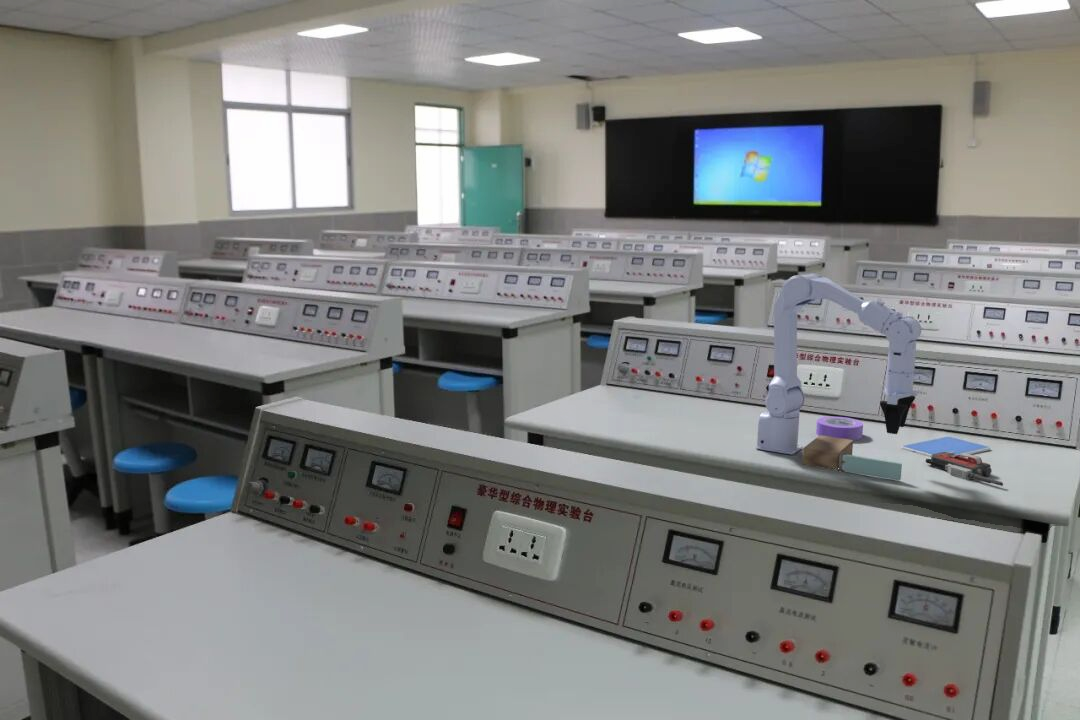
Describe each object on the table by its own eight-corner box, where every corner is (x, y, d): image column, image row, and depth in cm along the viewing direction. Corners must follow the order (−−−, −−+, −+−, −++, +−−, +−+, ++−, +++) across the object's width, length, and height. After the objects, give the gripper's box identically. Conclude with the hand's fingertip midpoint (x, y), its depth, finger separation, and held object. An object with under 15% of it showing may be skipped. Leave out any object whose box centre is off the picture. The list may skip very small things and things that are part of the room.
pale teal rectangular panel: (841, 470, 201) (842, 454, 200) (842, 469, 202) (843, 453, 201) (899, 480, 194) (901, 464, 193) (900, 479, 195) (902, 463, 194)
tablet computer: (942, 462, 211) (943, 457, 211) (898, 450, 222) (898, 445, 221) (992, 452, 220) (992, 447, 220) (947, 440, 231) (947, 435, 231)
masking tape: (853, 443, 226) (854, 429, 225) (809, 436, 233) (810, 422, 232) (868, 434, 235) (869, 420, 235) (824, 427, 242) (825, 414, 241)
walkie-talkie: (918, 467, 207) (999, 491, 190) (920, 449, 206) (1001, 471, 189) (942, 462, 211) (1022, 485, 194) (943, 444, 210) (1025, 466, 193)
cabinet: (801, 465, 206) (802, 447, 205) (818, 450, 218) (820, 433, 218) (841, 472, 201) (842, 453, 200) (857, 456, 213) (858, 439, 213)
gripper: (913, 378, 189) (908, 439, 191) (924, 368, 201) (919, 425, 203) (879, 374, 193) (874, 434, 195) (892, 364, 205) (887, 421, 207)
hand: (895, 429), depth 199 cm, fingers open, 7 cm apart
